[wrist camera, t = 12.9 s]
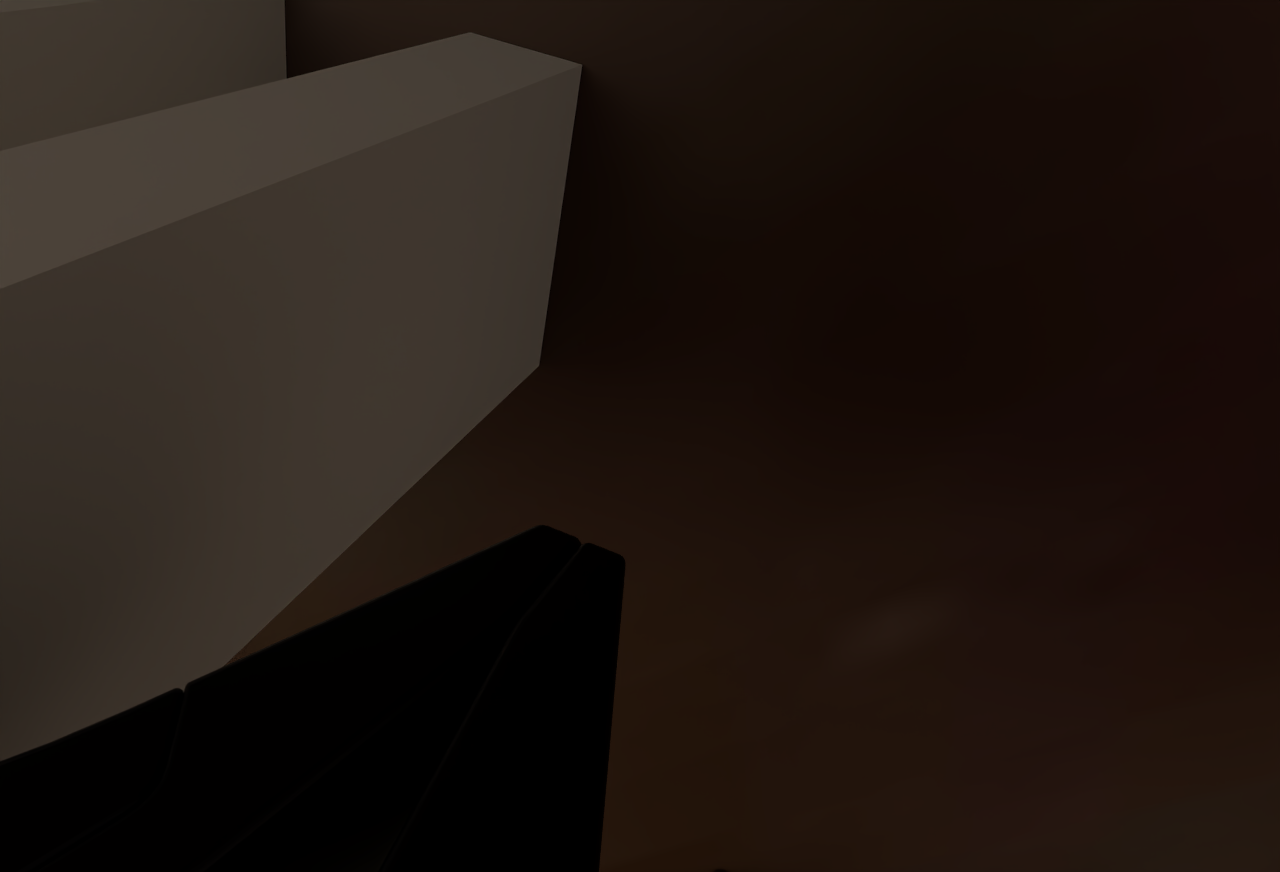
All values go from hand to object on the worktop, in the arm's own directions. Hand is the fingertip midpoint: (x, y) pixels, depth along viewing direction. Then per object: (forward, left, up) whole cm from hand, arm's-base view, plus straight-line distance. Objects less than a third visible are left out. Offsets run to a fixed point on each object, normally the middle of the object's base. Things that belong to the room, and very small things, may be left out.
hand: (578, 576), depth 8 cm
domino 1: (0, +4, -7) cm, 8 cm away
